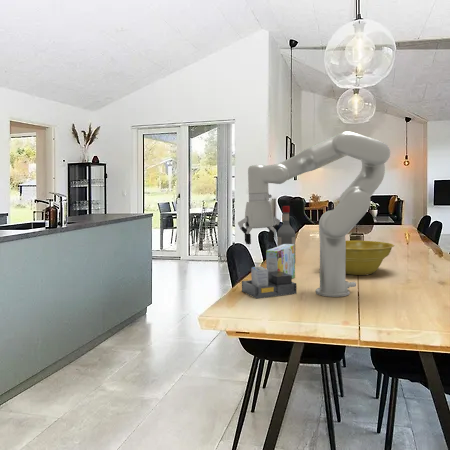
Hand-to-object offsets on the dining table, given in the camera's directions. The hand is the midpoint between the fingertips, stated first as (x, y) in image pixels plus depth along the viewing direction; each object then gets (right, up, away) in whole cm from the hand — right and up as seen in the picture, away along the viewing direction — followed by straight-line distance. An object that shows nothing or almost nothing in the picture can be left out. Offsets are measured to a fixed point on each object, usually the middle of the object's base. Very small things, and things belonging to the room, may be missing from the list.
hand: (259, 243), depth 178 cm
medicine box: (0, -19, +2) cm, 19 cm away
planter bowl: (+48, -16, +40) cm, 64 cm away
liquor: (+19, -14, +66) cm, 70 cm away
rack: (+4, -19, +3) cm, 20 cm away
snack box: (+11, -18, +23) cm, 31 cm away
